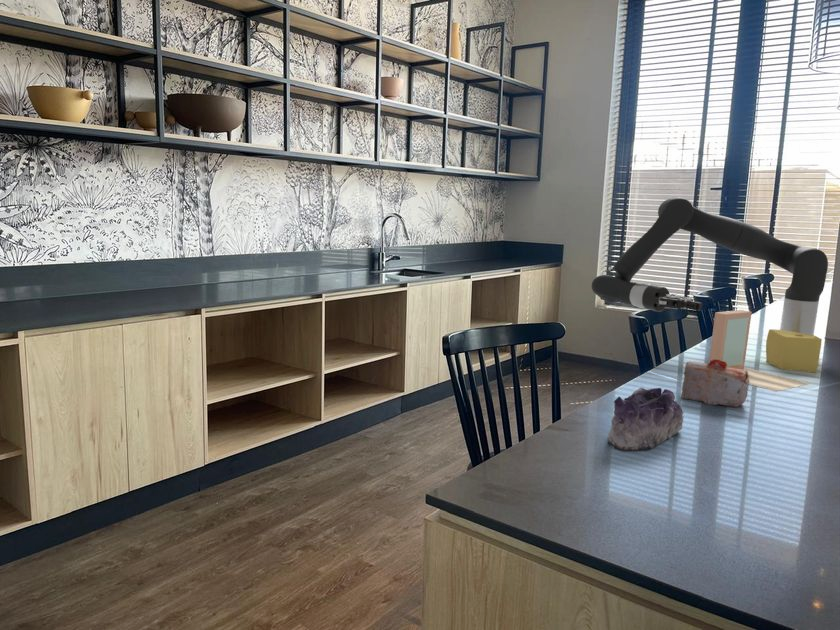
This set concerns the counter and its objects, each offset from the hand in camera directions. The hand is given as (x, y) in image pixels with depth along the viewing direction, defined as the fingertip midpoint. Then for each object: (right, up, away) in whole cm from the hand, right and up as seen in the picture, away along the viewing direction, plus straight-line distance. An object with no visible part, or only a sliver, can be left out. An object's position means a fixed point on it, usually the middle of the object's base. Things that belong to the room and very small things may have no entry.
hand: (700, 306), depth 179 cm
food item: (-12, -22, -33) cm, 41 cm away
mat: (+8, -19, -10) cm, 23 cm away
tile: (+5, -17, -5) cm, 19 cm away
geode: (-36, -26, -58) cm, 73 cm away
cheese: (+27, -18, +3) cm, 32 cm away
